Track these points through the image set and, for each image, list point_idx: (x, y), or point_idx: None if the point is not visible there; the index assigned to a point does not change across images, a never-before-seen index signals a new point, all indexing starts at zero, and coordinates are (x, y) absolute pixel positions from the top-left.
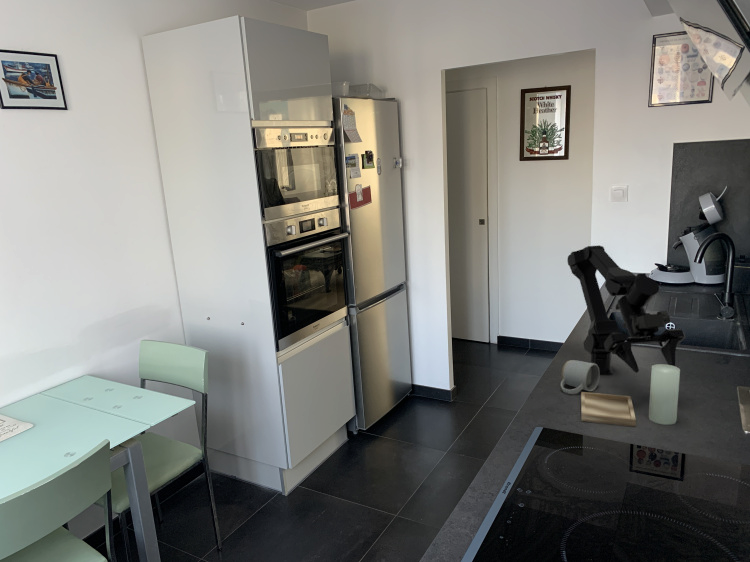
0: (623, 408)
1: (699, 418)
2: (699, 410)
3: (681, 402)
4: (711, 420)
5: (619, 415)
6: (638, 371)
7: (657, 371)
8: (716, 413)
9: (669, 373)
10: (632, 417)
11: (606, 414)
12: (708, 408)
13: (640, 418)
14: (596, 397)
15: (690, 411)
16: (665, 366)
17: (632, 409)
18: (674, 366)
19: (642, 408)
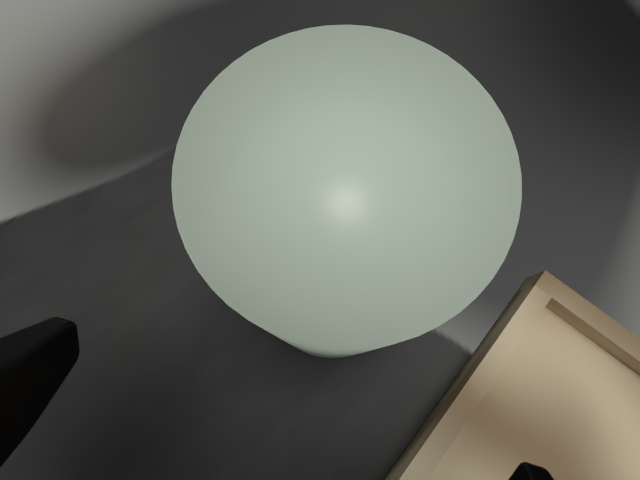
0: (459, 473)
1: (161, 219)
2: (73, 285)
3: (57, 408)
4: (132, 181)
5: (544, 402)
6: (520, 464)
7: (514, 149)
8: (36, 224)
9: (426, 47)
10: (542, 301)
11: (611, 448)
12: (11, 283)
13: (431, 344)
14: None
15: (125, 296)
16: (286, 226)
17: (471, 387)
18: (178, 178)
19: (326, 445)
